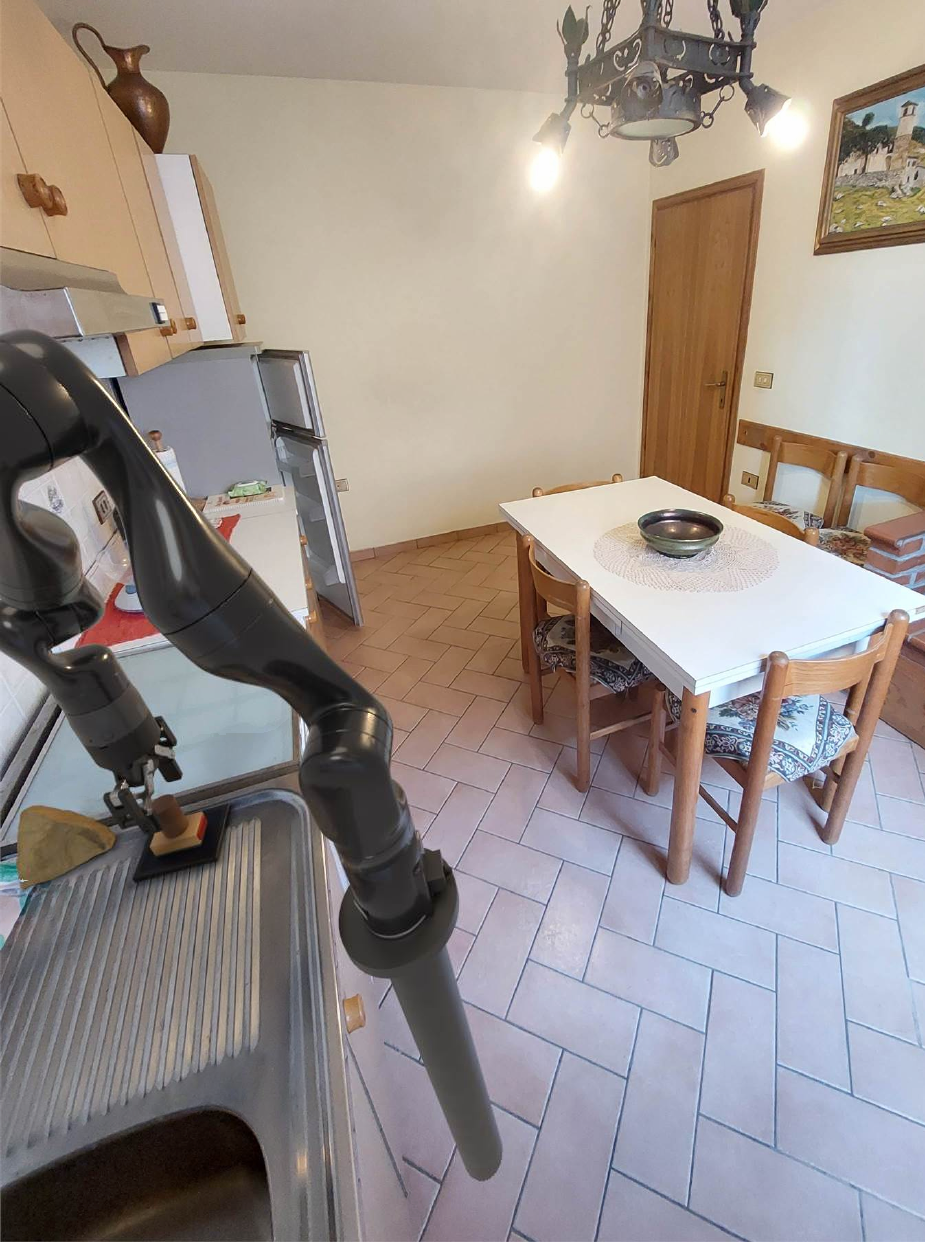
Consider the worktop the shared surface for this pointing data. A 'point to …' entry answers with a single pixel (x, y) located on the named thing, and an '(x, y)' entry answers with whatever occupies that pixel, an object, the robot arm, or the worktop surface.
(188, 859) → the ink pad
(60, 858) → the rock
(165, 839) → the stamp
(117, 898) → the worktop surface
